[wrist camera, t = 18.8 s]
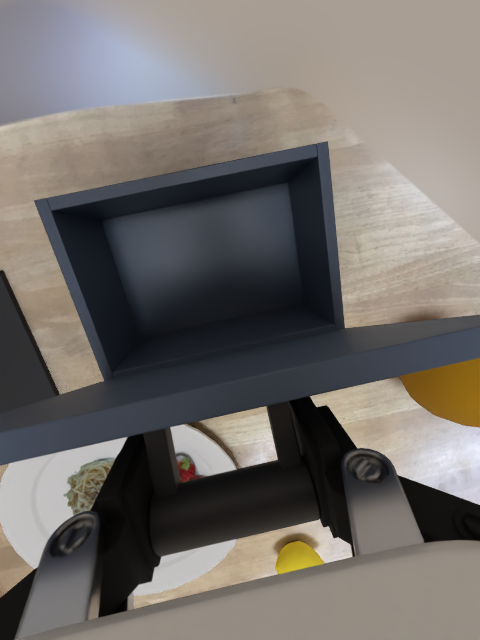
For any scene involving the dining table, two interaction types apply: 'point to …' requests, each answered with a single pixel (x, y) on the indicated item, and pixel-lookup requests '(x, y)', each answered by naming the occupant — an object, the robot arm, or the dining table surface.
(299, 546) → the lemon
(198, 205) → the chest
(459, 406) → the apple
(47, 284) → the dining table surface
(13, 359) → the mat
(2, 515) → the plated food
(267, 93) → the dining table surface
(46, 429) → the lid
